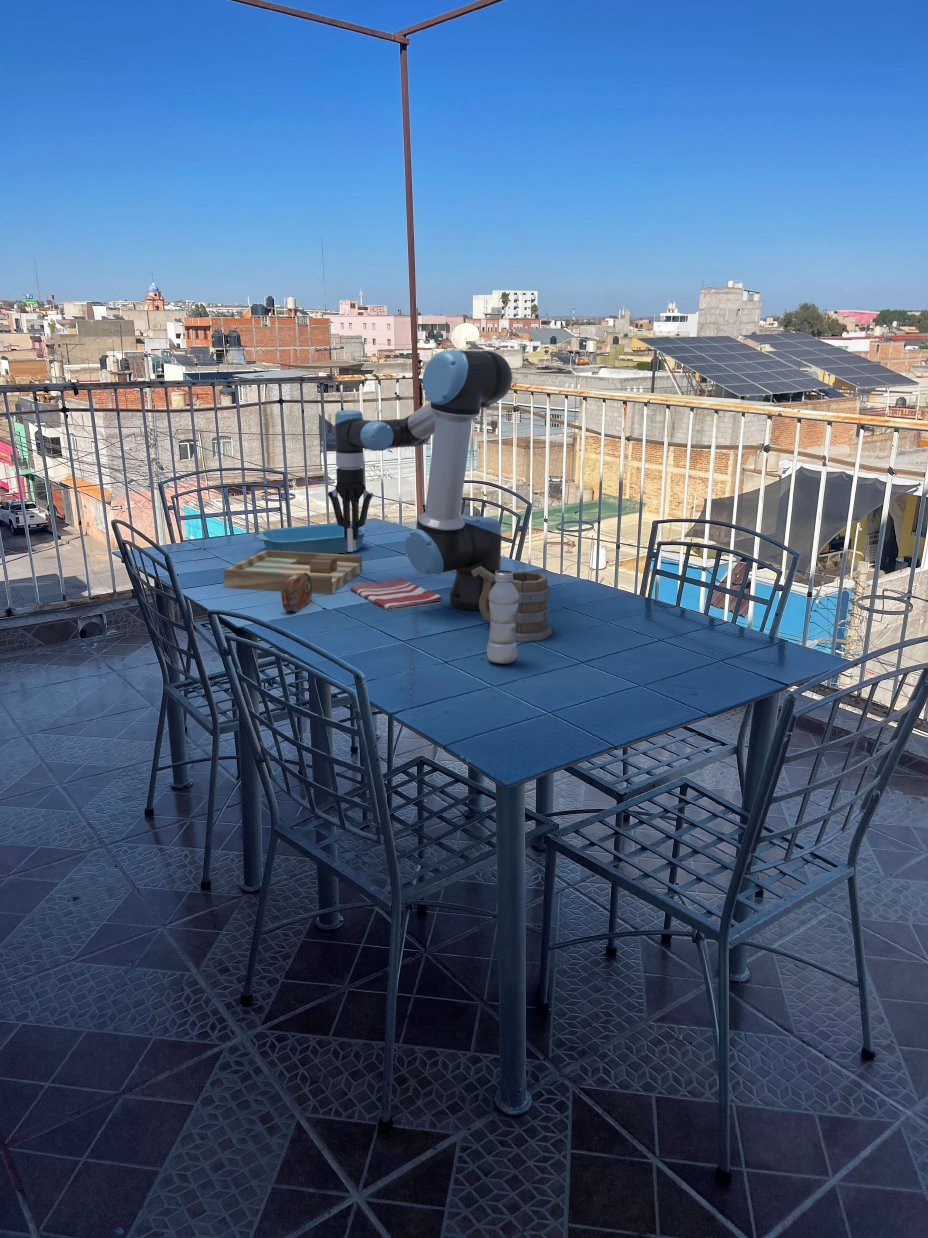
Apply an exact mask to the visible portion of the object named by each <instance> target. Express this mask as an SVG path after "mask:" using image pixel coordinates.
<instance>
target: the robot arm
mask: <svg viewBox="0 0 928 1238" xmlns="http://www.w3.org/2000/svg"><path fill="white" fill-rule="evenodd" d="M512 372H513V371H512V369H511V366H510V364H509V363H508V361H507V360H506V359H505V358H504V357H503V356H502V355H500V354H499V353H497V352H494V351H490V350H481V351H480V350H458V349H457V350H456V349H452V350H445V351H444V350H442V351H440V352H437V353H435V354H434V355H433V356H432V357H431V358H429V360H428V362H427V363H426V365H425V367H424V370H423V375H422V389H423V391H424V393H423V394H424V395H425V398H426V399H427V400H428V403H426V404H424V405H423V406H421V407H420V408H419V409H417V410H415V411H413V412H412V413H410V414H409V415H407V416H406V417H404V418H397V419H379V420H375V419H374V420H368V419H364V416H363V412H362V411H360V410H356V409H354V410H353V409H347V410H344V409H342V410H337V411H336V413H335V417H334V420H335V421H334V432H335V433H334V434H335V437H334V439H335V465H336V467H337V468H336V469H335V471H336V485H335V487H334V489H333V490H331V491H328V492H327V496H328V498H329V499H330V500H331V504H332V508H333V512H334V516H335V520H336V523H337V524H338V525H339V526H342V527H344V538H345V539H348V551H350V552H351V553H354V552H353V551H355V550H356V540H357V539H358V538H359V527H362V526H363V527H365V526H366V525H365V524H366V522H367V516H368V513H369V508H370V504H371V501H372V498H373V497H374V493H373V492H369V491H368V490H366V486H365V480H364V479H365V478H364V477H365V475H364V473H365V470H364V469H363V468H362V467H364V449H366V450H369V451H370V450H371V451H372V452H376V451H377V452H378V451H379V452H383V451H386V450H387V449H394V448H412V447H413V448H415V447H419V446H425V445H426V444H427V443H428V442H429V440H430V439H431V437H432V435H433V439H432V448H431V456H430V465H429V466H430V467H429V476H428V482H427V483H428V485H427V491H426V492H427V494H426V502H425V511H424V512H423V513H422V514H420V515H419V517H418V519H417V526H416V527H417V528H415V529H412V530H411V531H410V532H409V533H408V534H407V536H406V540H405V551H406V555H407V558H408V560H409V561H410V563H411V565H412V566H413V568H414V569H415V570H416V571H417V572H418V573H420V574H422V575H427V576H428V575H440V574H443V573H447V572H452V571H456V572H455V577H454V580H453V583H452V586H451V589H450V592H449V604H450V605H451V606H453V607H455V608H458V609H463V610H469V611H480V609H479V599H480V597H481V594H482V591H483V586H484V578H483V577H482V576H480V575H478V576H476V577H474V576H473V574H472V573H471V571H472V570H474V569H476V568H478V567H480V566H482V567H483V568H484V569H486V570H487V571H489V572H490V573H492V574H494V575H495V571H497V570H501V561H502V560H501V555H502V553H501V551H502V527H501V525H502V524H501V523H500V520H497V519H495V518H492V517H488V516H487V517H486V516H480V515H479V516H478V515H467V514H466V515H465V514H464V515H462V514H461V509H462V501H463V500H462V499H463V493H464V492H463V491H464V487H465V486H464V485H465V477H466V469H467V462H468V454H469V449H470V448H469V446H470V438H471V431H472V424H473V420H474V419H475V418H476V417H478V416H479V415H480V413H481V412H480V411H481V409H482V408H484V409H485V408H488V407H491V406H492V405H493V404H495V403H498V401H499V402H500V400H502V399H503V398H505V396H506V395H507V394H508V392H509V391H510V389H511V387H512V383H513V373H512ZM338 496H339V497H340V498H341V501H342V502H341V504H342V508H341V504H340V499H339V497H338ZM362 497H363V501H362V506H361V509H360V507H359V503H360V499H361V498H362ZM359 509H360V510H361V511H360V510H359ZM359 513H360V514H359ZM351 524H352V527H350V526H351ZM356 551H357V550H356ZM356 551H355V552H356ZM494 584H495V582H493V586H494ZM488 606H489V602H488ZM489 610H490V608H489Z"/></svg>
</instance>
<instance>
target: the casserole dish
mask: <svg viewBox="0 0 928 1238" xmlns="http://www.w3.org/2000/svg"><path fill="white" fill-rule="evenodd" d="M350 524H351V526H350V527H352V523H350ZM366 531H367V527H365V526H362V527H359V538H358V539H357V540H356V550H355V552H356V551H357V550H359V549H360V548H361V546H362V544H363V541H364V538H365V533H366ZM256 538H257V539H258V540H259V541H261V542H263V545H264V546H265V548H266V550H274V551H292V552H310V553H327V554H338V553H344V554H348V553H347V552H350V551H348V539H345V538H344V527H342V526H339V525H338V524H337V522H335V523H323V524H315V525H302V526H290V527H289V526H287V527H278V528H271V529H266V530H265V529H264V530H262V531H261V532H260V533H259V534H258V535H256Z"/></svg>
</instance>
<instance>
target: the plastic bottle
mask: <svg viewBox="0 0 928 1238" xmlns="http://www.w3.org/2000/svg"><path fill="white" fill-rule="evenodd" d="M513 572H514V571H512V570H509V569H500V570H497V571H495V581H496V583H495V584H494V586H493V587H492V589H491V590H490V592H489V595H488V600H489V608H490V620H491V621H489V622H490V623H489V624H490V626H489V635H488V641H487V646H486V654H487V658H488V660H489V661H490V662H492V663H494V664H499V665H500V664H501V665H502V664H506V665H507V664H511V663H513V662H514V661H515V660H516V658H517V656H518V655H517V654H518V644H517V643H518V642H517V641H516V632H515V624H516V622H515V621H516V613H517V608H518V601H519V594H518V591H517V590H516V588H515V587H514V585H513V584H512V581H513Z"/></svg>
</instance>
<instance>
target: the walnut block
mask: <svg viewBox="0 0 928 1238" xmlns="http://www.w3.org/2000/svg"><path fill="white" fill-rule="evenodd" d="M335 570H337V557H320V556H317V557H315V558H314V559H312V560H310V573H322V574H331V573H332V572H334V571H335Z"/></svg>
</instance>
